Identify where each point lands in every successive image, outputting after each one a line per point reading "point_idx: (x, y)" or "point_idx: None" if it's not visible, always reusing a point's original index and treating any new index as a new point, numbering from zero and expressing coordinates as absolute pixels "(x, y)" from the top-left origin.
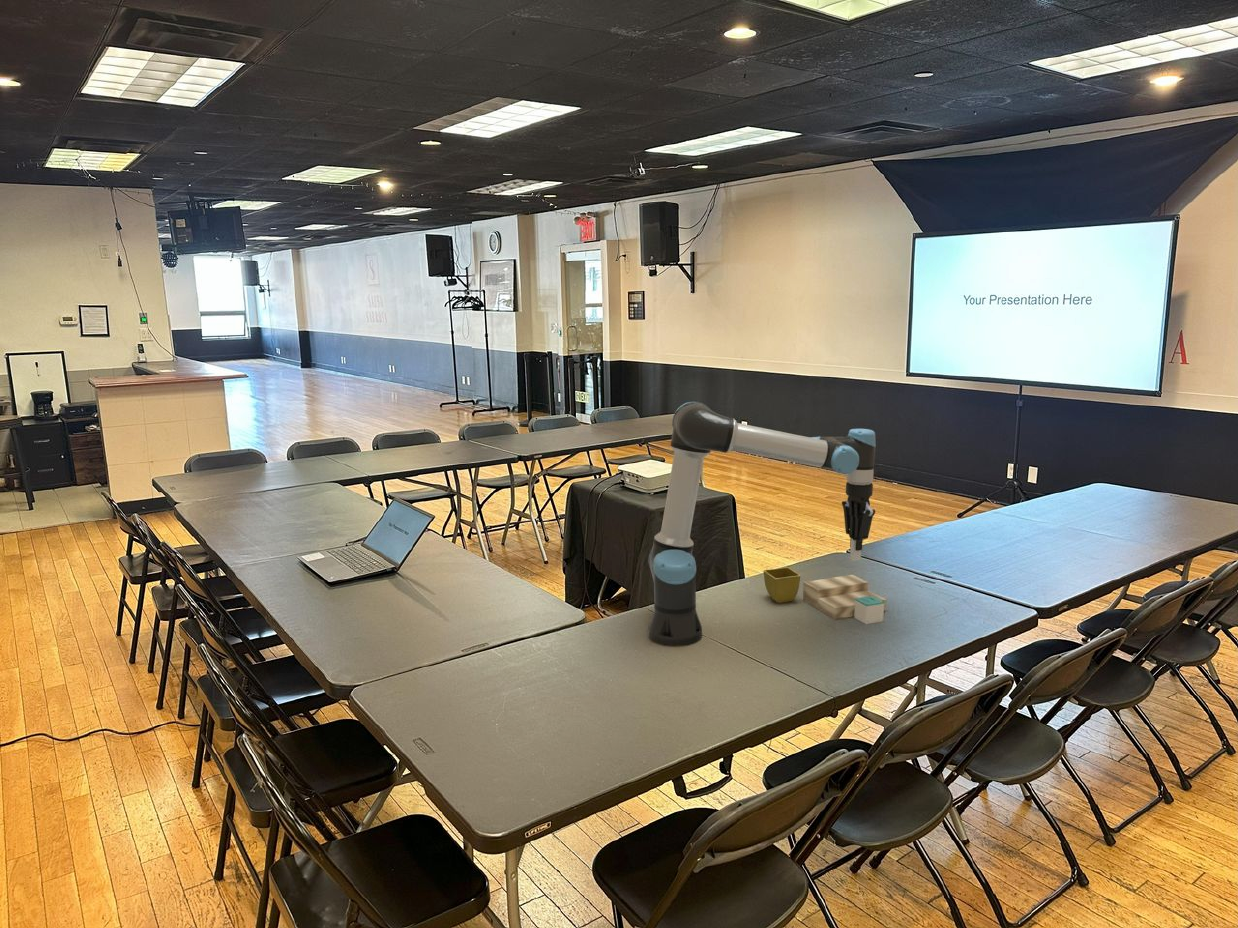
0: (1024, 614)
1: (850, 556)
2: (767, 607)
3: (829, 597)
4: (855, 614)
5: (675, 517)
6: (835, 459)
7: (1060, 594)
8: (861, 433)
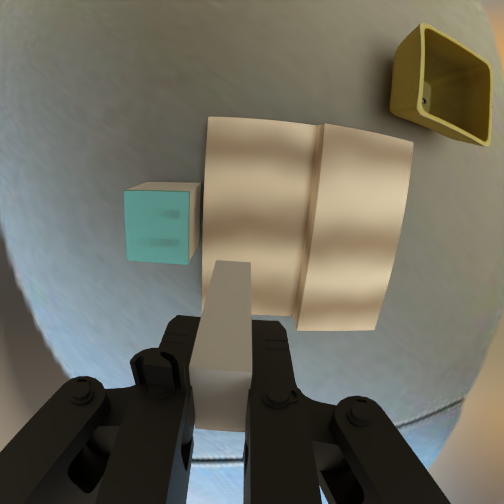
0: None
1: (246, 271)
2: (377, 28)
3: (302, 164)
4: (193, 184)
5: None
6: None
7: None
8: None
